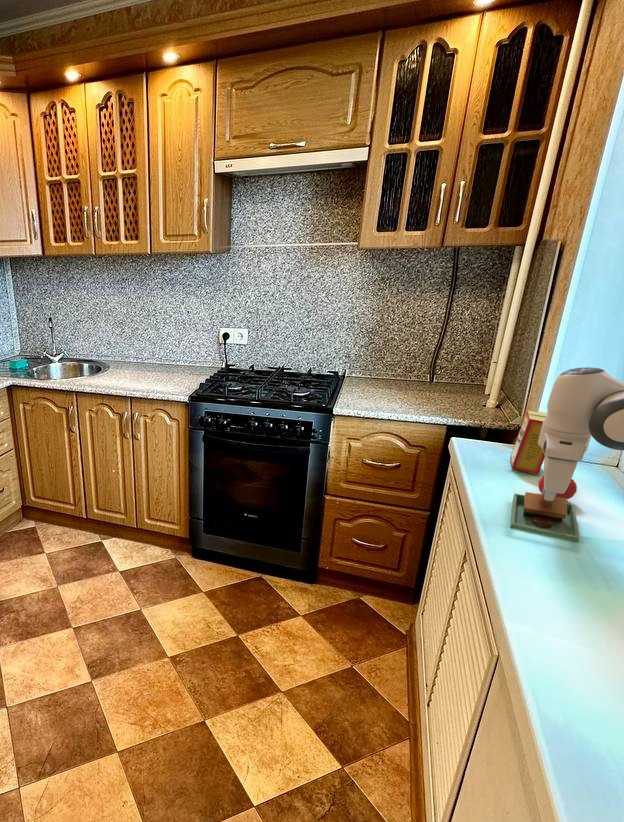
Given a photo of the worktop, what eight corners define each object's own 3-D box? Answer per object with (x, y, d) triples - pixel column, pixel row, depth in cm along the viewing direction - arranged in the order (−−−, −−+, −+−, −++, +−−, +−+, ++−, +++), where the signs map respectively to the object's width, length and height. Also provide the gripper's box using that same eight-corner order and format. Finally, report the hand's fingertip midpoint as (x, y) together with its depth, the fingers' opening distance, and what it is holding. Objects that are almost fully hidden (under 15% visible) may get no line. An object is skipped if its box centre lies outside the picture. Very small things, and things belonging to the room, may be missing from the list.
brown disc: (549, 521, 124) (550, 517, 124) (554, 529, 121) (556, 524, 120) (529, 519, 126) (530, 514, 125) (534, 526, 122) (535, 522, 122)
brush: (521, 516, 127) (530, 488, 120) (522, 501, 130) (531, 472, 123) (562, 524, 123) (575, 495, 116) (563, 508, 126) (575, 478, 119)
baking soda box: (538, 474, 151) (558, 423, 145) (511, 468, 154) (530, 417, 148) (535, 463, 159) (554, 413, 152) (509, 457, 162) (527, 408, 155)
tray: (511, 503, 135) (514, 493, 134) (571, 514, 128) (574, 504, 127) (508, 534, 120) (511, 523, 119) (576, 549, 114) (579, 538, 113)
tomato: (531, 497, 137) (542, 471, 134) (536, 487, 142) (546, 462, 139) (569, 509, 132) (580, 482, 129) (572, 498, 137) (584, 472, 134)
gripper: (545, 424, 126) (532, 476, 131) (546, 451, 111) (530, 509, 116) (579, 428, 123) (563, 482, 128) (584, 457, 108) (566, 516, 113)
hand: (548, 495), depth 122 cm, fingers closed on brush, 3 cm apart
